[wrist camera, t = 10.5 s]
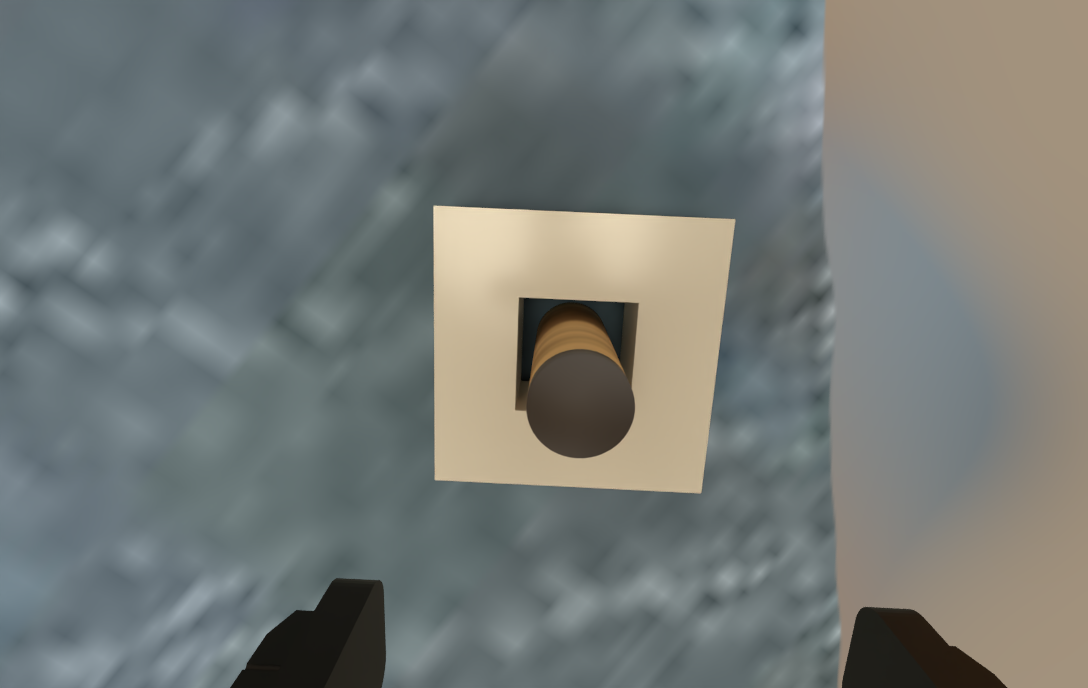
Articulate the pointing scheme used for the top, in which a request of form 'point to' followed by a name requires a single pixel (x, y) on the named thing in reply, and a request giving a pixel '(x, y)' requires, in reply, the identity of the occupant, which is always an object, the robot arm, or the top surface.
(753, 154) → the top surface
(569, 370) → the peg
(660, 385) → the socket block
